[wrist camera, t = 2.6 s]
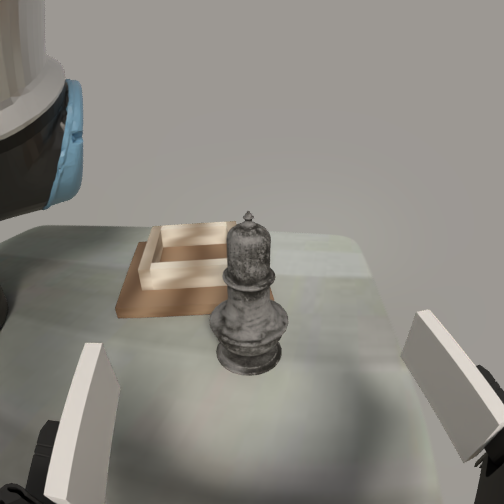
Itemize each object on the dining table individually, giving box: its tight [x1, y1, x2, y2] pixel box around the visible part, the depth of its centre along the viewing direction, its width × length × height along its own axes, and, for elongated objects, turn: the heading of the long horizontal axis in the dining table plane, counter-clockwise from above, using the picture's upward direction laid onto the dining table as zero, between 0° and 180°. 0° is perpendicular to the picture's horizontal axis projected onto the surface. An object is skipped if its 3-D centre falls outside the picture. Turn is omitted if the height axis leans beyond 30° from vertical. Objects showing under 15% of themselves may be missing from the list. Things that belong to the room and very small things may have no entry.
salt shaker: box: [210, 211, 288, 376], centre depth 23 cm, size 6×6×12 cm
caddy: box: [115, 221, 274, 318], centre depth 35 cm, size 15×14×4 cm
